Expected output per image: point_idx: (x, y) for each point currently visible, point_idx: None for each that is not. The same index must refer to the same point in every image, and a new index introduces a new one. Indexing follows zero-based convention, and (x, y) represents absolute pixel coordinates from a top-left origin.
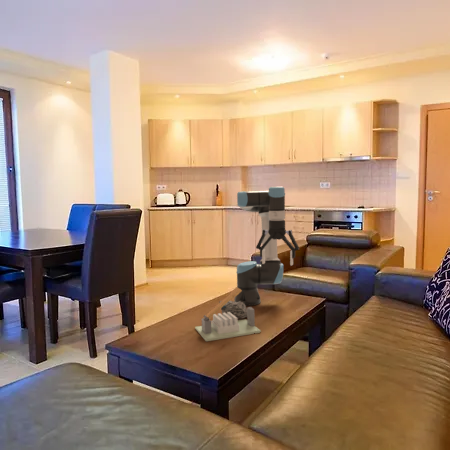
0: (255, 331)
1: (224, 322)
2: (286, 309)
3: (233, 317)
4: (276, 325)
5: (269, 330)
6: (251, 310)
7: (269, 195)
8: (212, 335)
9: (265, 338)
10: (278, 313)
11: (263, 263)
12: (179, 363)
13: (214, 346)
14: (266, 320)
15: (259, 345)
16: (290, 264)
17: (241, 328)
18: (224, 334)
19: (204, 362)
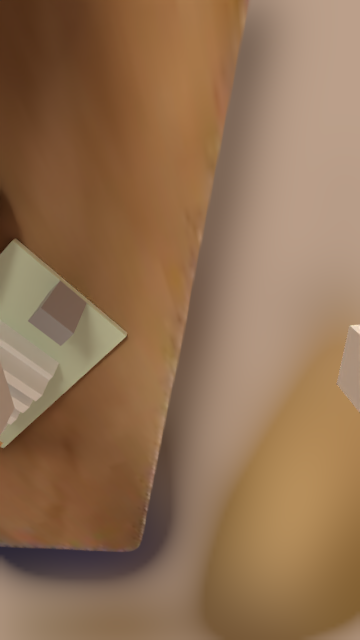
0: (112, 348)
1: None
2: None
3: (22, 391)
4: (157, 244)
5: (148, 304)
6: (65, 341)
7: None
8: None
9: (159, 370)
10: (111, 54)
11: (9, 411)
12: (32, 539)
13: (48, 458)
14: (95, 196)
15: (160, 416)
16: (343, 390)
17: (54, 342)
18: (31, 404)
19: (79, 521)
